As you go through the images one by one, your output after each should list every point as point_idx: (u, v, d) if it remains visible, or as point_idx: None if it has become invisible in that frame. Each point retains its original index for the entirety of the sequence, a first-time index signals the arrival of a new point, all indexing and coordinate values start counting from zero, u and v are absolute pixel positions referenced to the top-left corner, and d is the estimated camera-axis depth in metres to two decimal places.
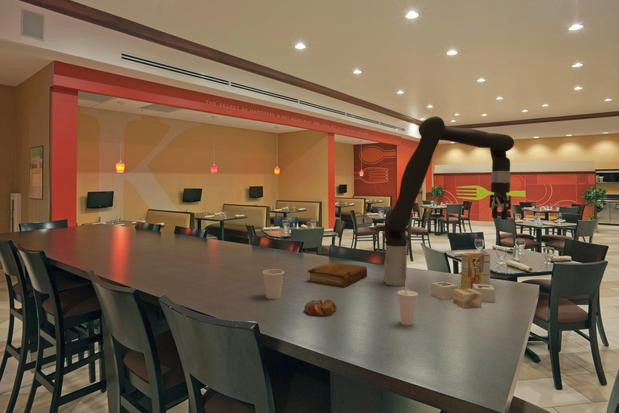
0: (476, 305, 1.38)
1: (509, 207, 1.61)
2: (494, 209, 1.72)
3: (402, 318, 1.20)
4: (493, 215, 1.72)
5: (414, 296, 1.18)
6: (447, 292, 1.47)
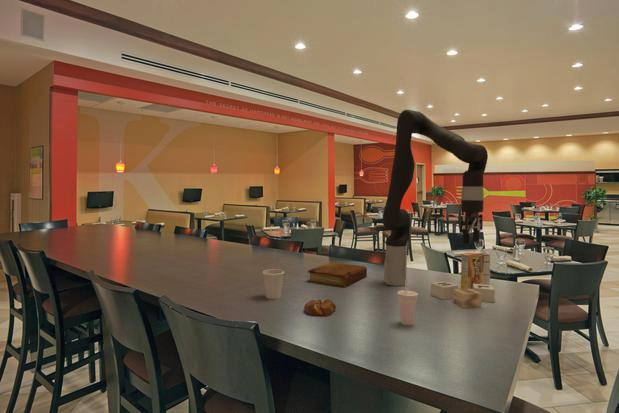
0: (476, 305, 1.37)
1: None
2: None
3: (402, 318, 1.20)
4: None
5: (414, 296, 1.18)
6: (447, 292, 1.47)
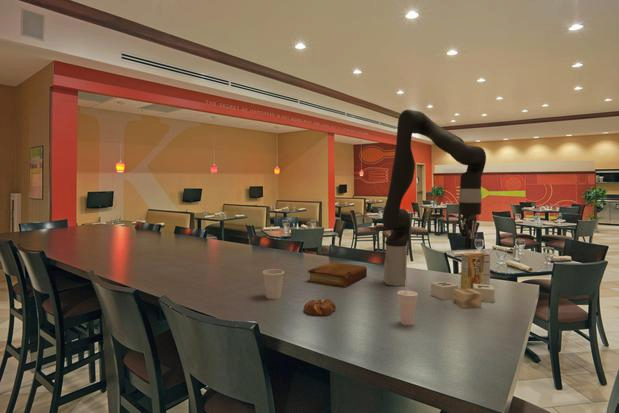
0: (476, 305, 1.37)
1: None
2: None
3: (402, 318, 1.20)
4: None
5: (414, 296, 1.18)
6: (447, 292, 1.47)
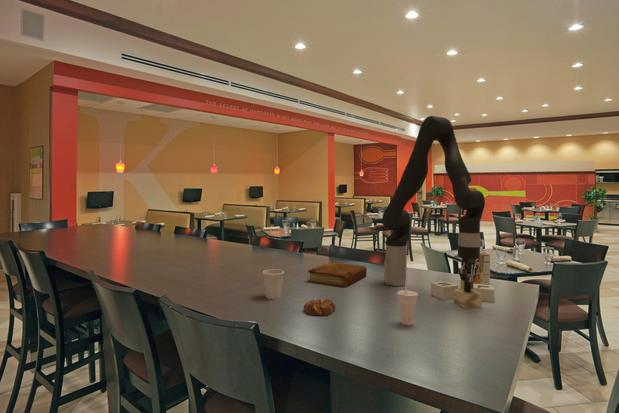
0: (476, 305, 1.37)
1: None
2: None
3: (402, 318, 1.20)
4: None
5: (414, 296, 1.18)
6: (446, 292, 1.47)
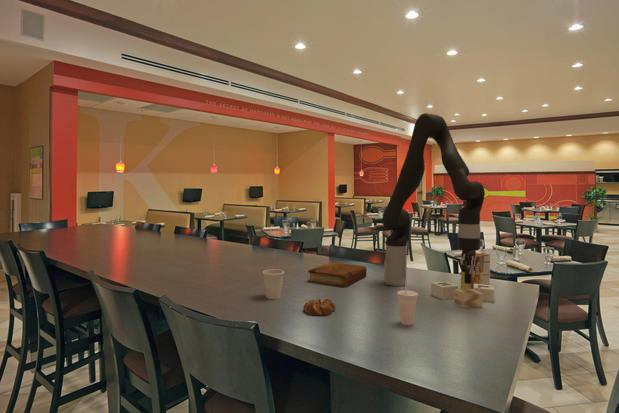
0: (477, 305, 1.37)
1: None
2: None
3: (402, 318, 1.20)
4: None
5: (414, 296, 1.18)
6: (446, 292, 1.47)
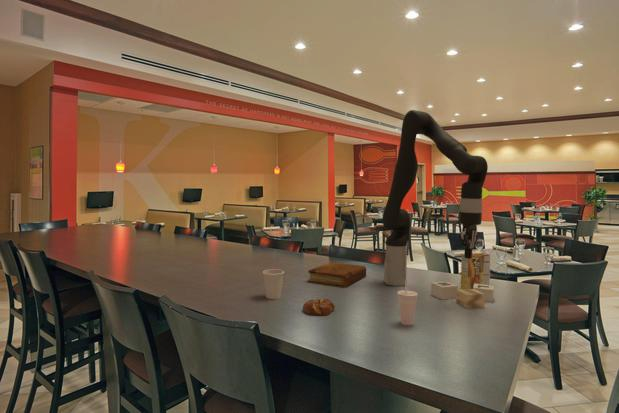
0: (479, 305, 1.37)
1: None
2: None
3: (402, 318, 1.20)
4: None
5: (414, 296, 1.18)
6: (446, 292, 1.47)
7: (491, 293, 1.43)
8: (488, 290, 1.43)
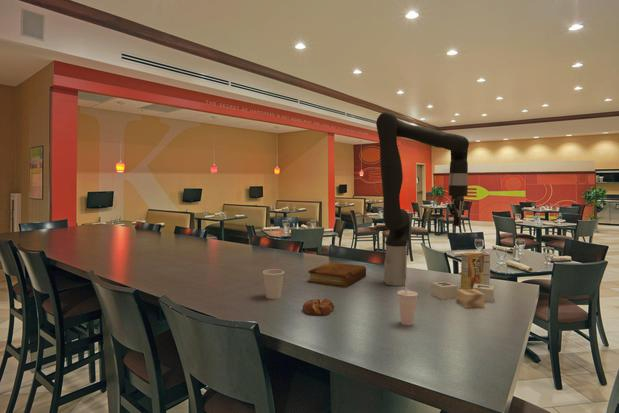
0: (479, 305, 1.37)
1: None
2: None
3: (402, 318, 1.20)
4: None
5: (414, 296, 1.18)
6: (446, 292, 1.47)
7: (491, 293, 1.43)
8: (488, 290, 1.43)
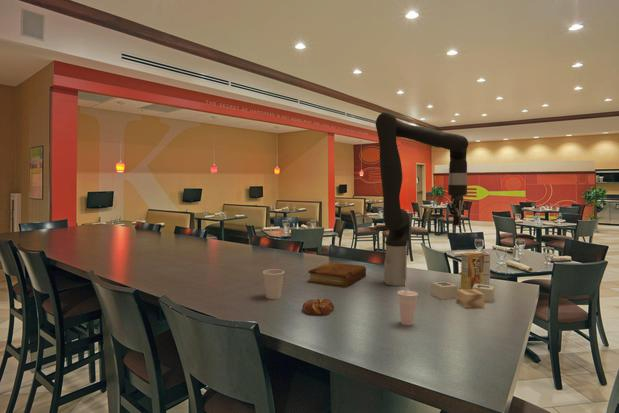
0: (479, 306, 1.37)
1: None
2: None
3: (402, 318, 1.20)
4: None
5: (414, 296, 1.18)
6: (446, 292, 1.47)
7: (490, 293, 1.43)
8: (487, 290, 1.44)
